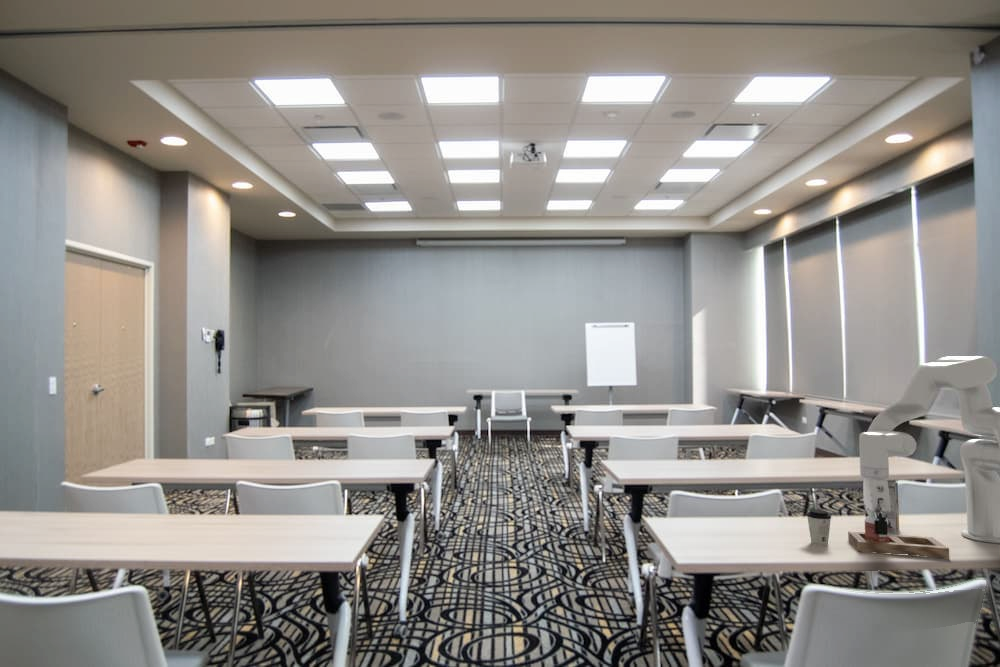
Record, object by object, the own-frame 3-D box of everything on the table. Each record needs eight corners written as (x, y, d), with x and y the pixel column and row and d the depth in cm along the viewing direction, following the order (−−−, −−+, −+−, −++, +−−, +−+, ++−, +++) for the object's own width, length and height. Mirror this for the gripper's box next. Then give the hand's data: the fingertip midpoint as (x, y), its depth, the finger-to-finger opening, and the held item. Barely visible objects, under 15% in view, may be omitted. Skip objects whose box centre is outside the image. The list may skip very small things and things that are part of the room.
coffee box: (877, 527, 208) (876, 480, 209) (899, 530, 204) (898, 482, 205) (874, 533, 200) (873, 484, 201) (897, 536, 197) (895, 486, 197)
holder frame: (932, 547, 185) (932, 537, 185) (949, 559, 173) (949, 548, 173) (848, 540, 191) (848, 531, 191) (859, 552, 180) (859, 541, 180)
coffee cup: (831, 548, 183) (830, 515, 184) (806, 544, 187) (805, 512, 188) (832, 542, 189) (831, 510, 190) (808, 539, 193) (807, 507, 193)
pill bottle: (882, 551, 180) (881, 513, 180) (861, 545, 185) (860, 509, 185) (893, 547, 183) (891, 510, 183) (872, 542, 188) (870, 506, 189)
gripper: (898, 478, 176) (900, 539, 175) (879, 468, 192) (881, 524, 191) (869, 477, 178) (871, 537, 177) (852, 467, 194) (854, 522, 193)
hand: (876, 530), depth 184 cm, fingers open, 8 cm apart
